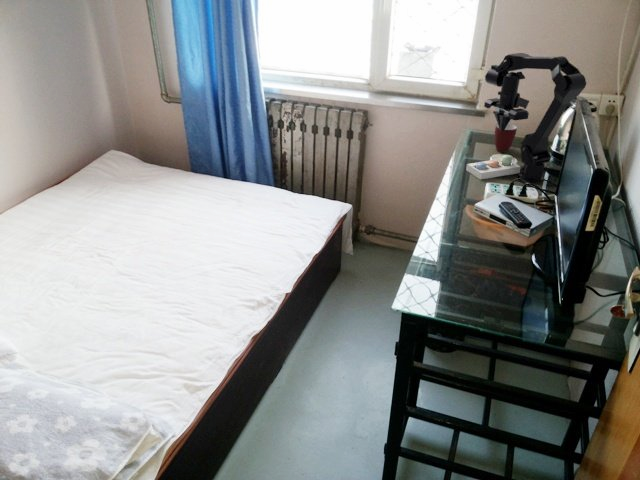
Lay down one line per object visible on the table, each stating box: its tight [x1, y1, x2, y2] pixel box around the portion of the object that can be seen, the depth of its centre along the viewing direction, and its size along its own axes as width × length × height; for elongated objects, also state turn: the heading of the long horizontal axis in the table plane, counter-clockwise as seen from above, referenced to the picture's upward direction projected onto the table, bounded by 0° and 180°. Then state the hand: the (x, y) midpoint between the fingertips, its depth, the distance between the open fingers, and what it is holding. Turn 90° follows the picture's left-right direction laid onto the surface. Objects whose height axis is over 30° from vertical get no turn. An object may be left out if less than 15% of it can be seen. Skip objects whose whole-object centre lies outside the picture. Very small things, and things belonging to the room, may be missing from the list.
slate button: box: [476, 161, 487, 170], centre depth 189 cm, size 4×4×3 cm
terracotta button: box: [488, 159, 499, 168], centre depth 191 cm, size 4×4×3 cm
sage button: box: [501, 154, 513, 166], centre depth 192 cm, size 4×4×3 cm
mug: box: [494, 123, 518, 153], centre depth 209 cm, size 10×8×10 cm
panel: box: [465, 159, 521, 180], centre depth 192 cm, size 9×17×2 cm, turn 110°
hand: (501, 131), depth 195 cm, fingers closed
